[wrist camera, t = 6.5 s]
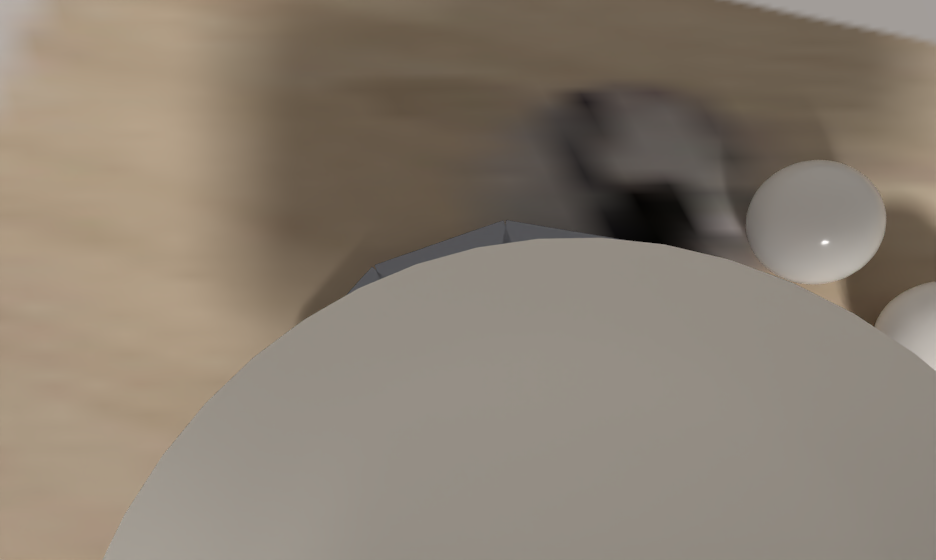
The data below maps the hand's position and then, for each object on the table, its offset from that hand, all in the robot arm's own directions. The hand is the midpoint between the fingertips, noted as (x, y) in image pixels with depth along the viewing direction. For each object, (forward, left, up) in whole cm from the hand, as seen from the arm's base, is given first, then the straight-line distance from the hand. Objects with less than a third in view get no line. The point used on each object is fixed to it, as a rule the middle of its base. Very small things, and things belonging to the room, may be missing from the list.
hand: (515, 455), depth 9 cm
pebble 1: (-2, -9, -8) cm, 12 cm away
